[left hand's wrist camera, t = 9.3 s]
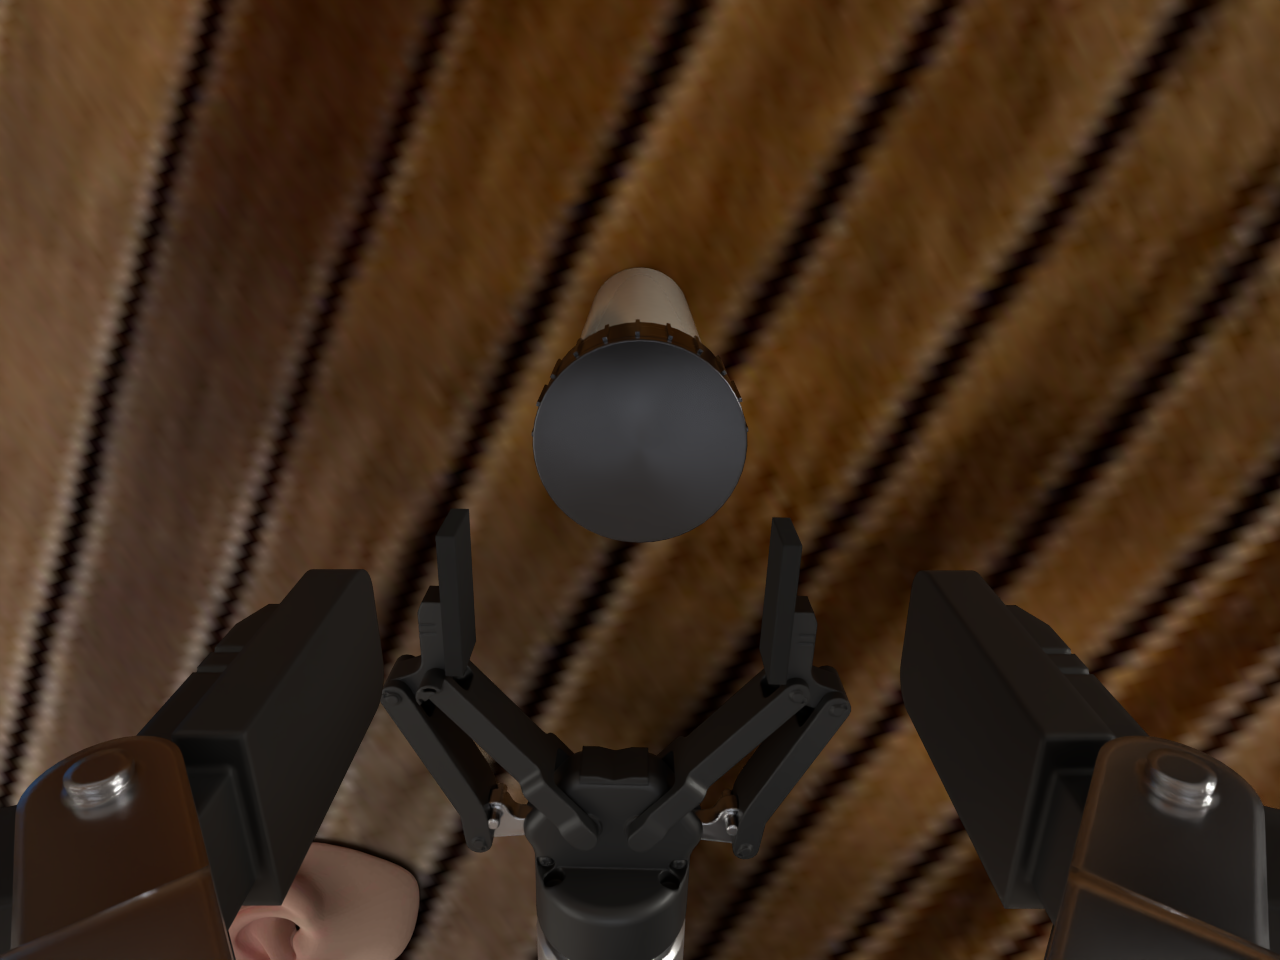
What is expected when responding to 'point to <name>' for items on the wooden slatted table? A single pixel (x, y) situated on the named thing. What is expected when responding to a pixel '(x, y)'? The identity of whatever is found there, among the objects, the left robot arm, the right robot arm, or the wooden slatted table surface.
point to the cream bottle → (639, 302)
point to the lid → (639, 433)
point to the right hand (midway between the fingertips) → (620, 525)
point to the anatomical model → (333, 911)
